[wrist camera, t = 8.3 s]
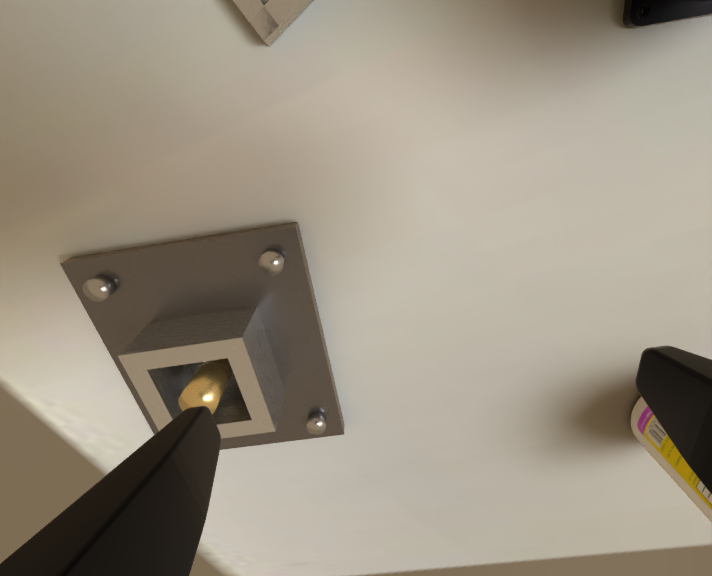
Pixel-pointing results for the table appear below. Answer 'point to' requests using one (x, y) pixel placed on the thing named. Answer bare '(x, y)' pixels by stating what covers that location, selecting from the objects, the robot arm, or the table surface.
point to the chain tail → (271, 15)
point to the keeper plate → (216, 294)
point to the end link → (205, 343)
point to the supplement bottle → (668, 456)
